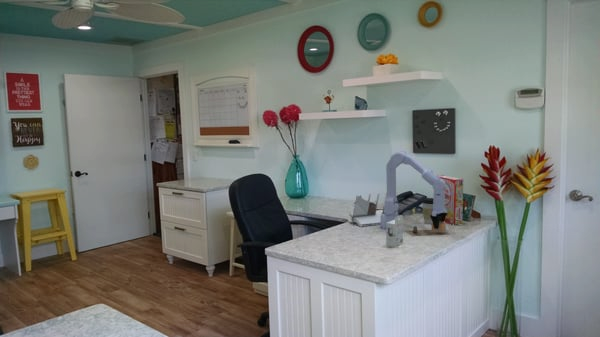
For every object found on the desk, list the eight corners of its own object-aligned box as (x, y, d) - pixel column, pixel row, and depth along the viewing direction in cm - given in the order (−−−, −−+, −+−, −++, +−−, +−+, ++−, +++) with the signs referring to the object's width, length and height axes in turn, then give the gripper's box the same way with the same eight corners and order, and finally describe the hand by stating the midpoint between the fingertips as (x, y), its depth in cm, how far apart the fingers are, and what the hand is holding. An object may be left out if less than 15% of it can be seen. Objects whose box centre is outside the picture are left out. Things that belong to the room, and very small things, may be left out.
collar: (442, 232, 235) (442, 224, 234) (431, 230, 238) (431, 222, 238) (445, 230, 239) (445, 222, 239) (435, 228, 243) (435, 220, 242)
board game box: (433, 218, 279) (434, 175, 276) (442, 217, 280) (443, 174, 278) (453, 225, 259) (454, 179, 256) (463, 224, 261) (464, 178, 258)
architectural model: (343, 215, 276) (348, 184, 268) (383, 211, 287) (389, 181, 279) (358, 232, 259) (364, 200, 251) (400, 227, 270) (407, 196, 262)
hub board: (412, 238, 231) (412, 228, 230) (403, 233, 243) (403, 223, 242) (450, 236, 234) (450, 226, 233) (440, 231, 246) (440, 221, 245)
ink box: (394, 242, 224) (394, 213, 222) (403, 244, 221) (403, 214, 219) (385, 246, 217) (385, 216, 216) (394, 247, 214) (395, 217, 213)
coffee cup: (423, 222, 269) (424, 197, 267) (440, 223, 264) (441, 198, 262) (419, 225, 260) (419, 199, 259) (436, 227, 255) (436, 201, 254)
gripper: (441, 204, 229) (441, 230, 231) (451, 200, 241) (450, 225, 242) (428, 203, 234) (427, 229, 235) (438, 199, 245) (437, 223, 246)
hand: (438, 227), depth 239 cm, fingers open, 6 cm apart
